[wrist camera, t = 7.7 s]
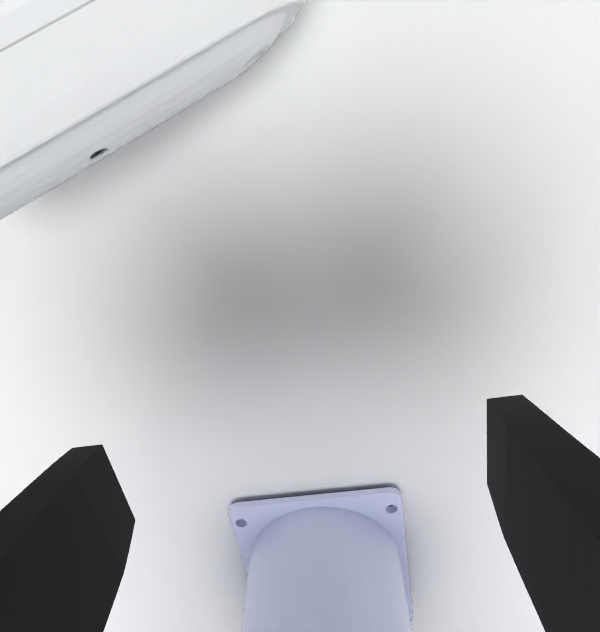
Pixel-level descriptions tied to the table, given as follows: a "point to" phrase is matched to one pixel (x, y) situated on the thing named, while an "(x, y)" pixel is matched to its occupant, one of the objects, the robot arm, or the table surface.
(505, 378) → the table surface
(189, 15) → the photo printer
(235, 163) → the table surface
